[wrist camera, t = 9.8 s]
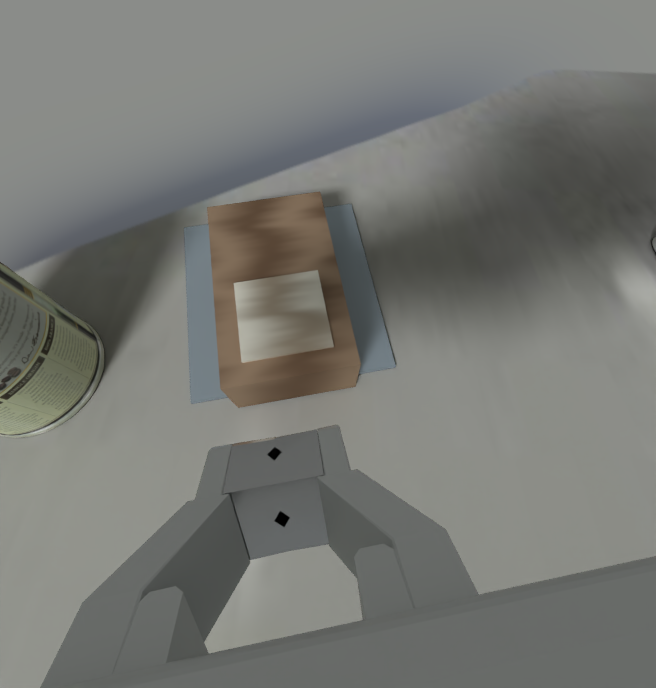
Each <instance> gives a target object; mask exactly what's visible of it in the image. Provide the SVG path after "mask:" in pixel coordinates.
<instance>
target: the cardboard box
mask: <svg viewBox="0 0 656 688" xmlns="http://www.w3.org/2000/svg"><path fill="white" fill-rule="evenodd" d="M207 211H208V225H209V239H210V253H211V267H212V280H213V294H214V308H215V322H216V336H217V350H218V364H219V378H220V389H221V390H222V391H223V392H224V393H225V395H226V396H227V397H228V398H229V399H230V400H231V401H232V402H233V403H234V404H235V405H236V406H237V407H238V408H240V407H245V406H251V405H256V404H262V403H267V402H273V401H278V400H284V399H289V398H295V397H300V396H306V395H312V394H317V393H323V392H328V391H334V390H339V389H345V388H350V387H355V386H356V382H357V378H358V374H359V370H360V366H361V362H360V358H359V354H358V350H357V346H356V341H355V337H354V333H353V329H352V324H351V320H350V316H349V312H348V307H347V303H346V299H345V295H344V291H343V286H342V282H341V278H340V274H339V269H338V265H337V261H336V257H335V252H334V248H333V244H332V240H331V236H330V231H329V227H328V223H327V219H326V214H325V210H324V206H323V202H322V197H321V193H320V192H314V193H306V194H299V195H292V196H285V197H278V198H270V199H263V200H256V201H249V202H242V203H234V204H227V205H220V206H213V207H207Z"/></svg>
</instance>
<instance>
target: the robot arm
mask: <svg viewBox="0 0 656 688" xmlns="http://www.w3.org/2000/svg"><path fill="white" fill-rule="evenodd" d="M652 244H653V247H654V250H655V251H656V236H655V237H654V238H653V241H652ZM318 438H319V439H318ZM319 444H320V445H319ZM320 450H321V451H320ZM321 456H322V457H321ZM326 544H329V546H330V547H331V548H332V550H333V551H334V552H335V553H336V554H337V556H338V557H339V558H340V559H341V560H342V561H343V563H344V564H345V565H346V566H347V567H348V569H349V570H350V571H351V572H352V573H353V574H354V576H355V577H356V578H357V582H358V589H359V596H360V603H361V611H362V618H363V620H361V621H357V622H352V623H348V624H343V625H339V626H334V627H329V628H325V629H320V630H316V631H311V632H306V633H302V634H297V635H293V636H288V637H283V638H279V639H274V640H270V641H265V642H261V643H256V644H251V645H247V646H242V647H238V648H233V649H228V650H224V651H219V652H215V653H210V654H209V653H208V651H207V648H206V646H205V644H204V641H205V640H206V638H207V636H208V634H209V633H210V631H211V629H212V628H213V626H214V624H215V622H216V621H217V619H218V617H219V615H220V614H221V612H222V610H223V609H224V607H225V605H226V603H227V602H228V600H229V598H230V597H231V595H232V593H233V591H234V590H235V588H236V586H237V584H238V583H239V581H240V579H241V578H242V576H243V574H244V572H245V571H246V569H247V567H248V565H249V564H250V561H249V560H252V559H257V558H261V557H265V556H270V555H274V554H278V553H282V552H287V551H292V550H297V549H303V548H309V547H315V546H321V545H326ZM40 688H656V556H654V557H650V558H645V559H640V560H636V561H631V562H627V563H622V564H617V565H613V566H608V567H604V568H599V569H594V570H590V571H585V572H581V573H576V574H571V575H567V576H562V577H558V578H553V579H549V580H544V581H539V582H535V583H530V584H526V585H521V586H516V587H512V588H507V589H503V590H498V591H493V592H489V593H484V594H480V595H479V594H478V592H477V590H476V588H475V586H474V584H473V582H472V580H471V578H470V576H469V574H468V572H467V570H466V568H465V566H464V564H463V562H462V560H461V558H460V556H459V554H458V552H457V550H456V548H455V547H454V545H453V543H452V541H451V539H450V537H449V535H448V533H447V531H446V529H445V528H443V527H442V526H440V525H439V524H437V523H436V522H434V521H433V520H431V519H430V518H428V517H427V516H425V515H424V514H422V513H421V512H420V511H418V510H417V509H415V508H414V507H412V506H411V505H409V504H408V503H406V502H405V501H403V500H402V499H400V498H399V497H397V496H396V495H395V494H393V493H392V492H390V491H389V490H387V489H386V488H384V487H383V486H381V485H380V484H378V483H377V482H375V481H374V480H372V479H371V478H369V477H368V476H367V475H365V474H364V473H362V472H361V471H359V470H358V469H356V470H351V469H350V465H349V461H348V457H347V454H346V450H345V446H344V442H343V439H342V435H341V431H340V427H339V426H338V425H333V426H329V427H324V428H319V429H318V433H317V430H312V431H307V432H302V433H296V434H291V435H286V436H281V437H273V438H266V439H260V440H254V441H248V442H241V443H235V444H229V445H224V446H218V447H213V448H211V449H210V450H209V452H208V455H207V459H206V462H205V466H204V469H203V473H202V476H201V480H200V483H199V487H198V490H197V494H196V497H195V500H193V501H188V502H187V503H186V504H185V505H184V506H183V507H181V508H180V509H179V510H178V511H177V512H176V513H175V514H174V515H173V516H172V517H171V518H170V519H169V520H168V521H167V522H166V523H165V524H164V525H163V526H162V527H161V528H160V529H159V530H158V531H157V532H156V533H154V534H153V535H152V536H151V537H150V538H149V539H148V540H147V541H146V542H145V543H144V544H143V545H142V546H141V547H140V548H139V549H138V550H137V551H136V552H135V553H134V554H133V555H132V556H131V557H130V558H128V559H127V560H126V561H125V562H124V563H123V564H122V565H121V566H120V567H119V568H118V569H117V570H116V571H115V572H114V573H113V574H112V575H111V576H110V577H109V578H108V579H107V580H106V581H105V582H104V583H102V584H101V585H100V586H99V587H98V588H97V589H96V590H95V591H94V592H93V593H92V594H91V595H90V596H89V597H88V598H87V599H86V600H85V601H84V602H83V603H82V605H81V607H80V609H79V611H78V613H77V615H76V617H75V619H74V621H73V623H72V625H71V627H70V629H69V631H68V633H67V635H66V637H65V639H64V641H63V643H62V645H61V647H60V649H59V651H58V653H57V655H56V657H55V659H54V661H53V663H52V665H51V667H50V669H49V671H48V673H47V675H46V677H45V679H44V681H43V683H42V685H41V687H40Z"/></svg>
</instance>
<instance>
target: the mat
mask: <svg viewBox="0 0 656 688" xmlns="http://www.w3.org/2000/svg"><path fill="white" fill-rule="evenodd" d="M324 210H325V214H326V219H327V223H328V227H329V231H330V236H331V240H332V244H333V248H334V252H335V257H336V261H337V265H338V269H339V274H340V278H341V282H342V286H343V291H344V295H345V299H346V303H347V307H348V312H349V316H350V320H351V324H352V329H353V333H354V337H355V341H356V346H357V350H358V354H359V358H360V362H361V366H360V370H359V374H362V373H368V372H374V371H379V370H385V369H390V368H395V367H396V365H395V361H394V358H393V354H392V350H391V347H390V343H389V339H388V336H387V332H386V329H385V325H384V321H383V318H382V314H381V310H380V307H379V303H378V300H377V296H376V292H375V289H374V285H373V281H372V278H371V274H370V271H369V267H368V263H367V260H366V256H365V253H364V249H363V245H362V242H361V238H360V234H359V231H358V227H357V224H356V220H355V216H354V213H353V209H352V205H351V204H346V205H339V206H332V207H325V208H324ZM184 239H185V265H186V291H187V317H188V343H189V369H190V395H191V403H192V404H194V403H200V402H205V401H211V400H217V399H222V398H228V397H227V396H226V395H225V393H224V392H223V391H222V390H221V389H220V378H219V364H218V350H217V336H216V322H215V308H214V294H213V280H212V267H211V253H210V239H209V225H208V224H206V225H199V226H192V227H185V228H184Z"/></svg>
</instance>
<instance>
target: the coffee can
mask: <svg viewBox="0 0 656 688" xmlns="http://www.w3.org/2000/svg"><path fill="white" fill-rule="evenodd" d="M103 369H104V348H103V344H102V341H101V339H100V337H99V335H98V334H97V332H96V331H95V329H94V328H92V327H91V326H90V325H89V324H88V323H86V322H85V321H83V320H81V319H79V318H77V317H76V316H74V315H73V314H72V313H70V312H69V311H68V310H66V309H65V308H64V307H62V306H61V305H59V304H58V303H57V302H55V301H54V300H53V299H51V298H50V297H48V296H47V295H45V294H44V293H43V292H41V291H40V290H38V289H37V288H36V287H34V286H33V285H31V284H30V283H29V282H27V281H26V280H25V279H23V278H22V277H20V276H19V275H17V274H16V273H15V272H13V271H12V270H11V269H9V268H8V267H7V266H5V265H4V264H2V263H1V262H0V436H4V437H14V438H22V437H29V436H34V435H38V434H41V433H44V432H47V431H49V430H51V429H53V428H55V427H57V426H59V425H61V424H62V423H64V422H66V421H67V420H68V419H70V418H71V417H73V416H74V415H75V414H76V413H77V412H78V411H79V410H80V409H81V408H82V407H83V406H84V405H85V404H86V403H87V402H88V400H89V399H90V398H91V396H92V395H93V393H94V391H95V390H96V388H97V386H98V384H99V381H100V379H101V375H102V372H103Z"/></svg>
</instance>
